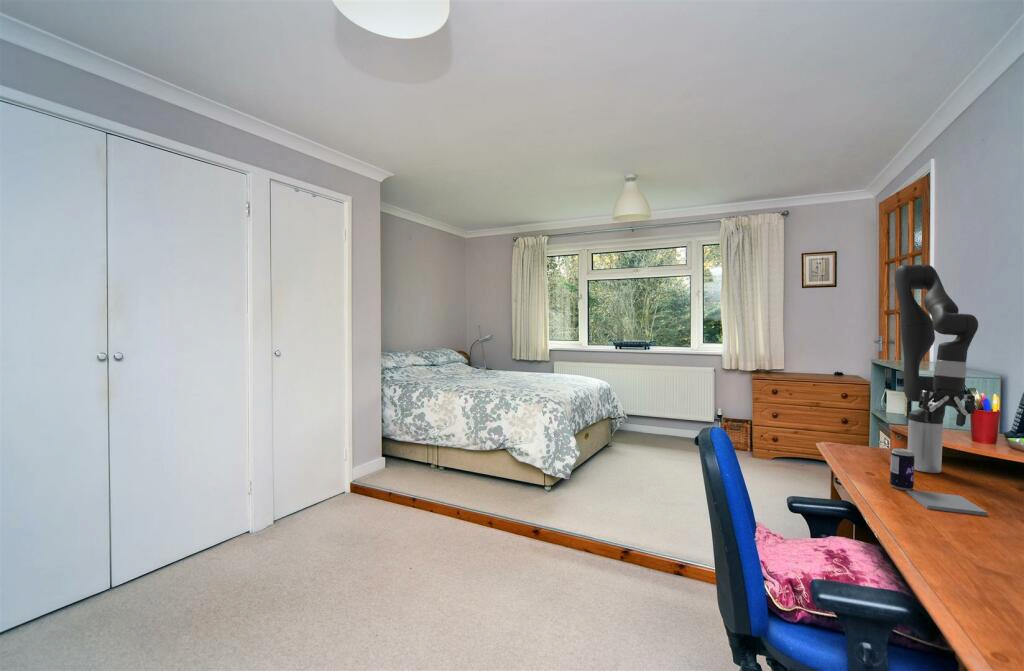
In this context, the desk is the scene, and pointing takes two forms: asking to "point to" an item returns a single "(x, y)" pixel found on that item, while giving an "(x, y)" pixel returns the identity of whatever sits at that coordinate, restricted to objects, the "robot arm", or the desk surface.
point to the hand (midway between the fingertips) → (944, 424)
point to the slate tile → (946, 502)
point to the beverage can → (902, 469)
